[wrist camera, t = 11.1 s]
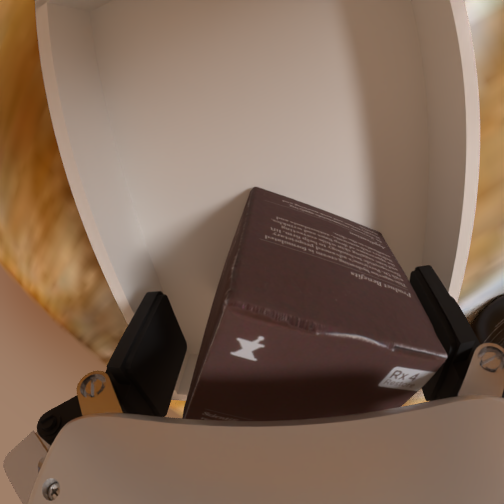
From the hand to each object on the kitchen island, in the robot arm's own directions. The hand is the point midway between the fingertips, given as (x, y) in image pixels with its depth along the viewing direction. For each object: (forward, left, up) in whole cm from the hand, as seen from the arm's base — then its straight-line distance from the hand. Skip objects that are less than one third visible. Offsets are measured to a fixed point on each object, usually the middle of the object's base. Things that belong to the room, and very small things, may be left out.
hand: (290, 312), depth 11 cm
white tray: (-4, 0, -5) cm, 7 cm away
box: (0, 0, -3) cm, 3 cm away
